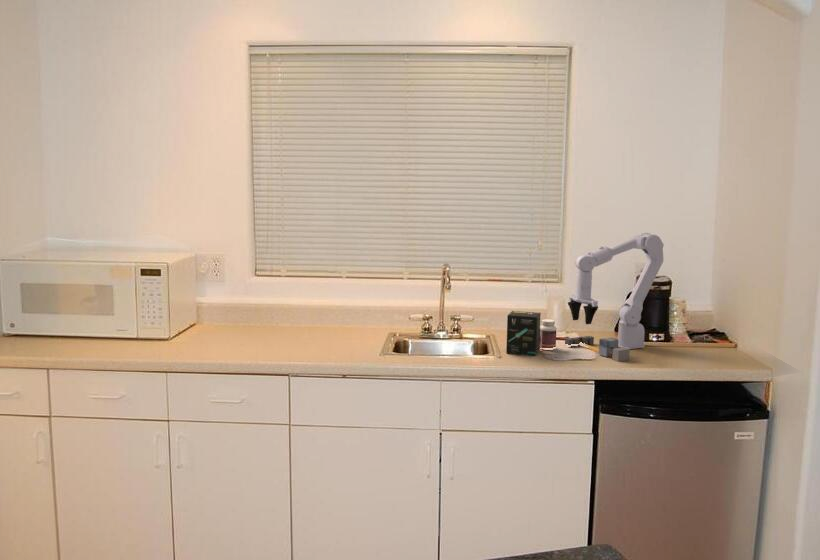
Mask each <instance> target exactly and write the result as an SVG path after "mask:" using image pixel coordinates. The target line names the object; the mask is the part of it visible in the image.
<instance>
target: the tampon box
mask: <svg viewBox="0 0 820 560" xmlns="http://www.w3.org/2000/svg"><path fill="white" fill-rule="evenodd" d="M506 325H507V326H506V330H507V331H506V348H505V349H506V351H505V352H506V354H507V355H520V356H521V355H522V356H531V357H532V356H533V357H536V355H537V354H538V352H539V351H540V350H541V349H540V327H541V312H535V311H519V310H512V311H511V312H509V313H508V314H507V322H506Z"/></svg>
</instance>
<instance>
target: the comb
mask: <svg viewBox="0 0 820 560" xmlns="http://www.w3.org/2000/svg"><path fill="white" fill-rule="evenodd" d="M594 340H595V337H594V336H592V335H587V336H586V335H584V336H576V337H567V338H564V345H565V344H568V345H571V344H579V342H582V343H585V344H587V345H589V346H594V342H595V341H594Z"/></svg>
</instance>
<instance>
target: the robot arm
mask: <svg viewBox="0 0 820 560" xmlns="http://www.w3.org/2000/svg"><path fill="white" fill-rule="evenodd" d="M632 249H636V250H642V251H643V252H644V254H645V257H646V259H647V261H646V263H645V265H644V268H643V270H642V272H641V273H640V276H639V278H638V280H637V281H636V284H635V286H634V287H633V289H632V292H631V294H630V296H629V298H627V299H625V302H624V303H623V305H621V306H620V307H619V308H618V310H617V315H618V317H619V321H618V333H617V340H619V342H618V348H622V347H624V348H627V349H630V350H633V349H640V348H642V349H643V348H646V345H645V332H646V331H645V327H644V325H643V324H642V323H640V321H641V319H642V315H641V314H642V312H643V310H644V309H643V304H644V301H645V299H646V297H647V296H648V293H649V291H650V289H651V287H652V285H653V284H654V281H655V279H656V277H657V275H658V273H659V271H660V268H661V267H662V265H663V263H664V242H663V241H662V239H661V237H660V236H658V235H656V234H651V233H649V232H644V233H641V234H638V235H635V236H633V237H630V238H628V239H627V240H624V241H622V242H619V243H618V244H615V245H613V246H612V247H608V246H599V247H598V249H596V250H594V251H588V252H586V254H582V255H579V256H578V257H577V259H576V260H575V261H574V263H575V266H576V280H575V294H572V295H571V294H570V295H568V301H567V305H568V306H569V309H570V311H571V312H570V313H571V318H572V321H579V317H580V311H581V308H582V305H583V308H582V309H583V311H584V314H585V315H584V316H585V317H584V318H585V319H584V322H585V325H592V322H593V319H594V316H595V314H596V312H597V310H598V309H599V304H598V302H599V301H598V300H595V299H593V298H592V283H593V281H592V280H593V271H594V269H595V268H596V267H599V266H601V265H604V264H606V263H608V262H611V261H612V260H613V258H614V256H617V255H619V254H623V253H624V252H627V251H628V252H629V251H630V250H632Z"/></svg>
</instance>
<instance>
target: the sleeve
mask: <svg viewBox="0 0 820 560" xmlns="http://www.w3.org/2000/svg"><path fill="white" fill-rule="evenodd" d="M618 342H619V340H618V338H617V339H616V338H615V337H614V338H613V337H605V338H599V342H598V344H599V345H598V349H599V353H598V355H600V356H603V357H605V358H606V357H608V358H609V354H610V353H613V349H614V348H619V347H618Z"/></svg>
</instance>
